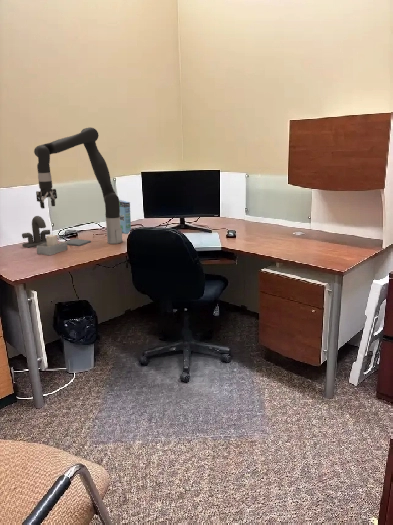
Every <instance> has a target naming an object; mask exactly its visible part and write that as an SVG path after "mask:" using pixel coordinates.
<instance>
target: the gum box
mask: <svg viewBox="0 0 393 525" xmlns="http://www.w3.org/2000/svg"><path fill="white" fill-rule="evenodd" d="M119 204H120V228H122V234H125V235H126V234H127V235H128V234H130V233H129V231H130V230H131V231H132V220H131V202H130V201H126V200H122V199H119Z"/></svg>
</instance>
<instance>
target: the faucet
mask: <svg viewBox="0 0 393 525" xmlns="http://www.w3.org/2000/svg"><path fill="white" fill-rule="evenodd" d="M46 228H47V225H46V222H45V220H44V218H43V217H42V216H40V215H34V217H32V221H31V230H32V233H30V232H22V233H21V237H22V239H27V241H28V242H23V243H22V245H21V246H22V247H23V248H27V249H31V248H36V246H37V245H40V244H43V243H47V239H46V236H48V235H51V229H46ZM40 229H43V230H41V231H40Z"/></svg>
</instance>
